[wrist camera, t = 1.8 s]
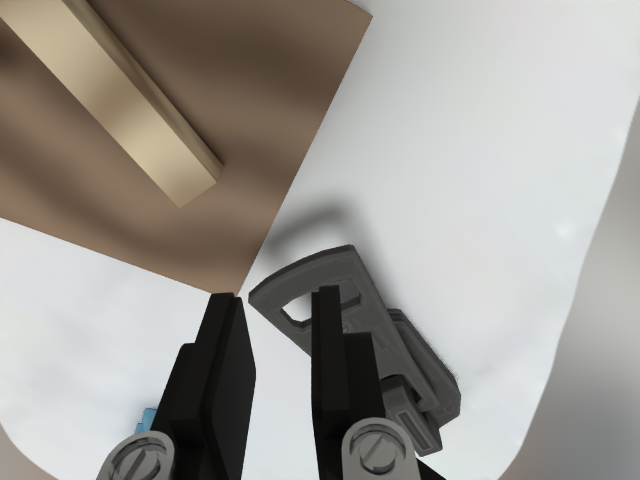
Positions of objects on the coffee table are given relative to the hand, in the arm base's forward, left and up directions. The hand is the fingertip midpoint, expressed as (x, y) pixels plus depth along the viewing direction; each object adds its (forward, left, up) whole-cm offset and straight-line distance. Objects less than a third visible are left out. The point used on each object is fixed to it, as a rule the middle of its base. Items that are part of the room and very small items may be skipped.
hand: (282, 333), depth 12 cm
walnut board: (+3, -11, -19) cm, 22 cm away
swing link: (0, -12, -17) cm, 21 cm away
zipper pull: (+13, +13, -19) cm, 27 cm away
